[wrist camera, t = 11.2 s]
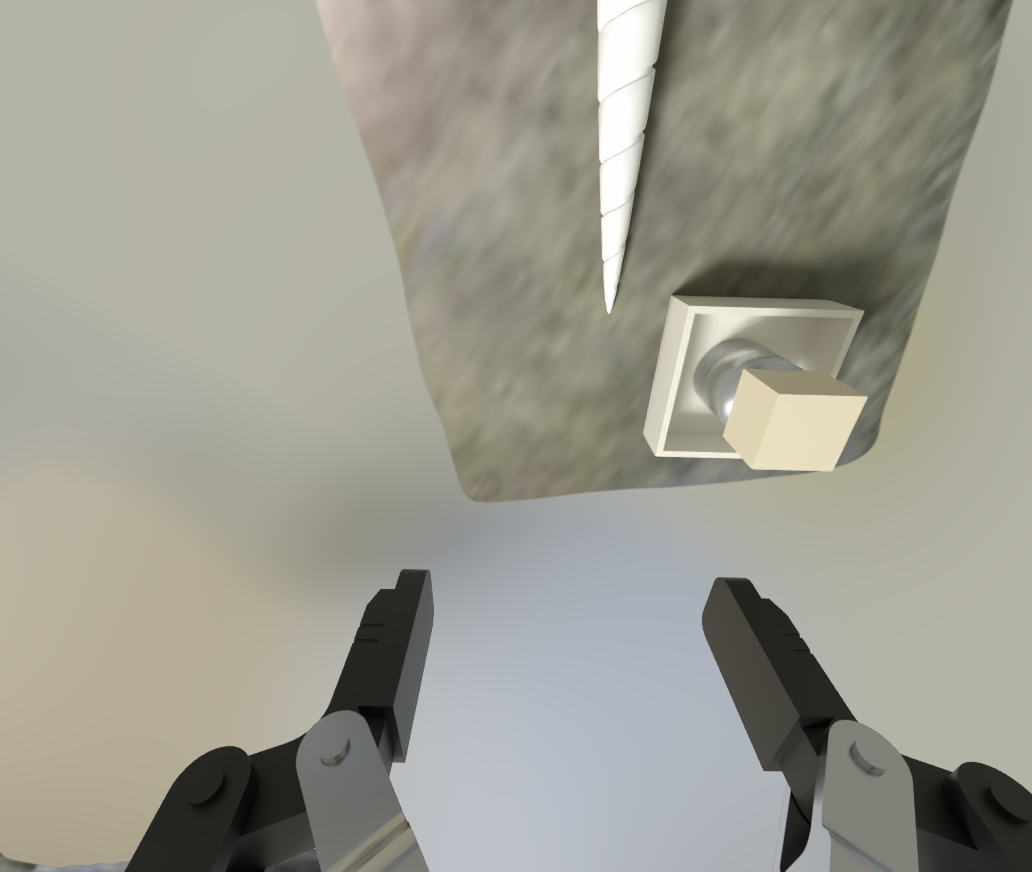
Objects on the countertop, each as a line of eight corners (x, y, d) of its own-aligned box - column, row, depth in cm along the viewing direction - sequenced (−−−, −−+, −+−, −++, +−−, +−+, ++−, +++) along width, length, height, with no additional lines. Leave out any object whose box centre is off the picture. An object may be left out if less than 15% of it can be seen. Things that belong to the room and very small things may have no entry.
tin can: (703, 337, 38) (738, 362, 32) (779, 339, 38) (829, 365, 32) (685, 406, 41) (714, 441, 35) (755, 408, 41) (796, 443, 35)
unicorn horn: (566, 312, 38) (572, 325, 34) (592, -70, 26) (606, -123, 22) (618, 312, 38) (630, 326, 34) (667, -69, 26) (695, -121, 22)
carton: (743, 368, 32) (779, 394, 28) (820, 370, 32) (867, 396, 28) (722, 436, 35) (751, 469, 31) (793, 438, 35) (832, 471, 31)
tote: (670, 295, 37) (689, 305, 33) (827, 299, 37) (864, 311, 33) (642, 433, 44) (655, 456, 40) (775, 436, 44) (800, 459, 40)
